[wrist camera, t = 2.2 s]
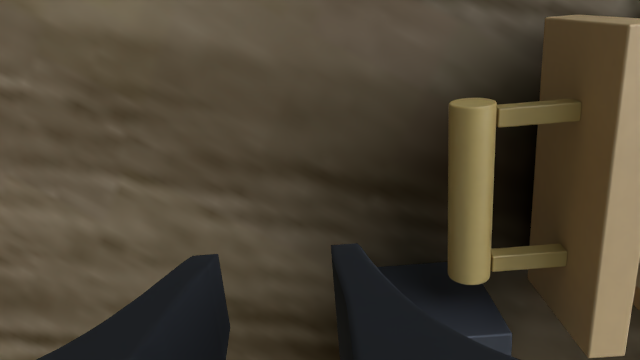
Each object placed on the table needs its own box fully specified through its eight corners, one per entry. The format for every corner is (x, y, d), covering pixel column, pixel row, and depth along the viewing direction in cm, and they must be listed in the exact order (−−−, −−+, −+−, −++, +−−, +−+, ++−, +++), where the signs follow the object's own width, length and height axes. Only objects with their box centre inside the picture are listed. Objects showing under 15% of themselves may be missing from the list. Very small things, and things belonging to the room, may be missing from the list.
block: (467, 356, 23) (506, 449, 18) (357, 364, 23) (368, 458, 18) (469, 259, 21) (513, 333, 17) (350, 268, 21) (361, 344, 17)
